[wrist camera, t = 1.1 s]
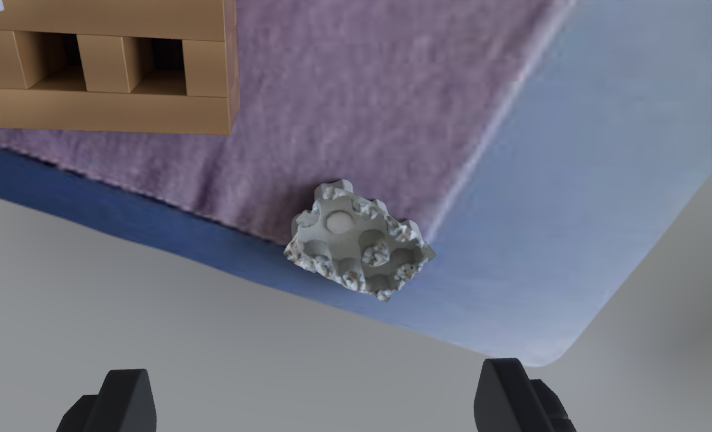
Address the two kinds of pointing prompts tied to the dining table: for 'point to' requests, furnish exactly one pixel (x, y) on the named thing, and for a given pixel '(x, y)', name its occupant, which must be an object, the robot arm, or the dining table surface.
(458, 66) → the dining table surface
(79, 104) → the holder
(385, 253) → the egg carton
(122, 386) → the robot arm
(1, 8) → the green bar with cap
